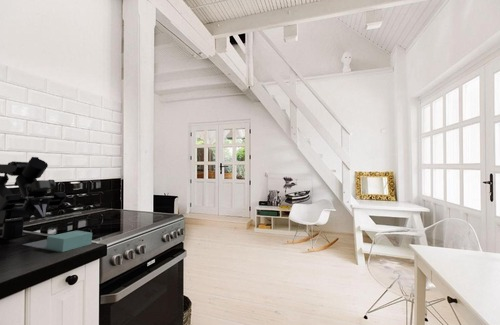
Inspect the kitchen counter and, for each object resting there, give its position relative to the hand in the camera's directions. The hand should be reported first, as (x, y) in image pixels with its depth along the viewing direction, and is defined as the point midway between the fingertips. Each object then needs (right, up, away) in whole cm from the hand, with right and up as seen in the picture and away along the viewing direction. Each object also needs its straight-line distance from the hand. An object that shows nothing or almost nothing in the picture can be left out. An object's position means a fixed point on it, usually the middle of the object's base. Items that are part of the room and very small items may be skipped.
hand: (43, 217), depth 85 cm
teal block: (+10, -7, -4) cm, 13 cm away
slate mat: (+8, -9, -3) cm, 13 cm away
